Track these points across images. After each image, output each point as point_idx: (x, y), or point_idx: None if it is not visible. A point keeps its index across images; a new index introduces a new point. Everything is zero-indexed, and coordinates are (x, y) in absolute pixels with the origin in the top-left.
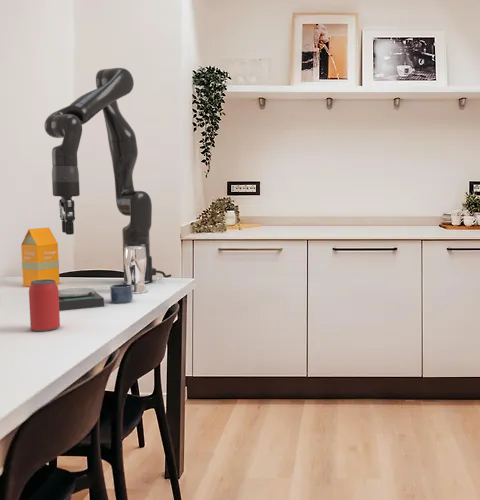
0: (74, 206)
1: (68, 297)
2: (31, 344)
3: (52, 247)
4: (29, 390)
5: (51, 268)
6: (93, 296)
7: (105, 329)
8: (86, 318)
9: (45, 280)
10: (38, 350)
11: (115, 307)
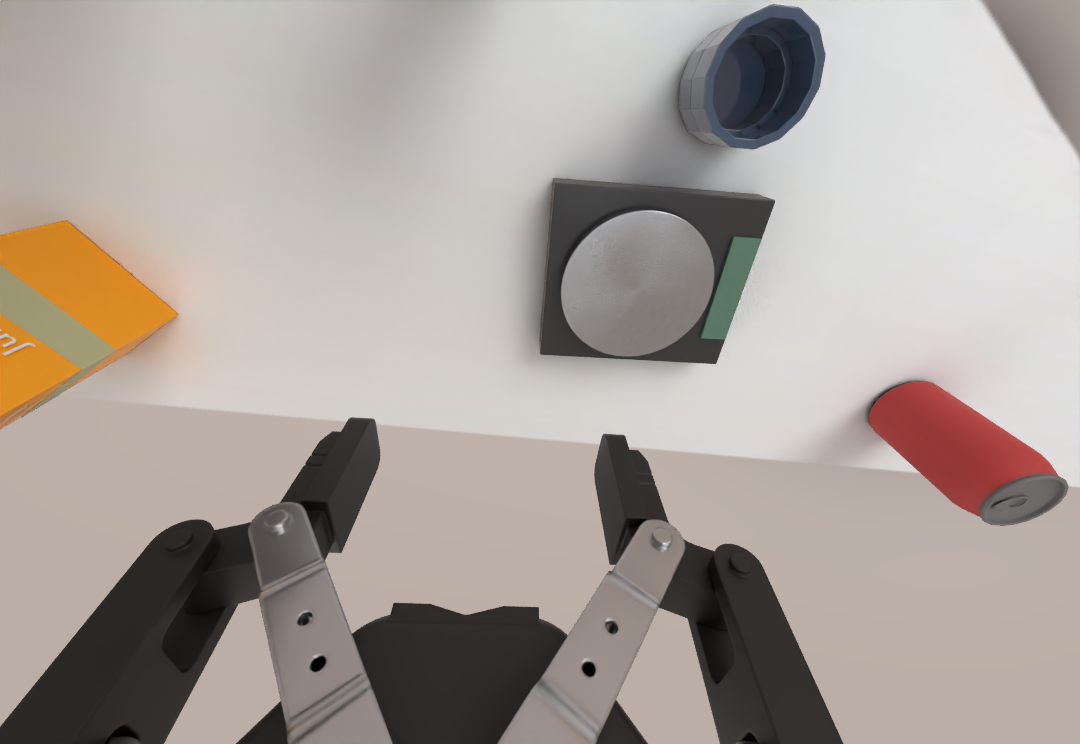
0: (576, 724)
1: None
2: None
3: None
4: None
5: (30, 285)
6: (708, 228)
7: (1073, 291)
8: (888, 299)
9: (999, 492)
10: (1061, 441)
11: (814, 158)
